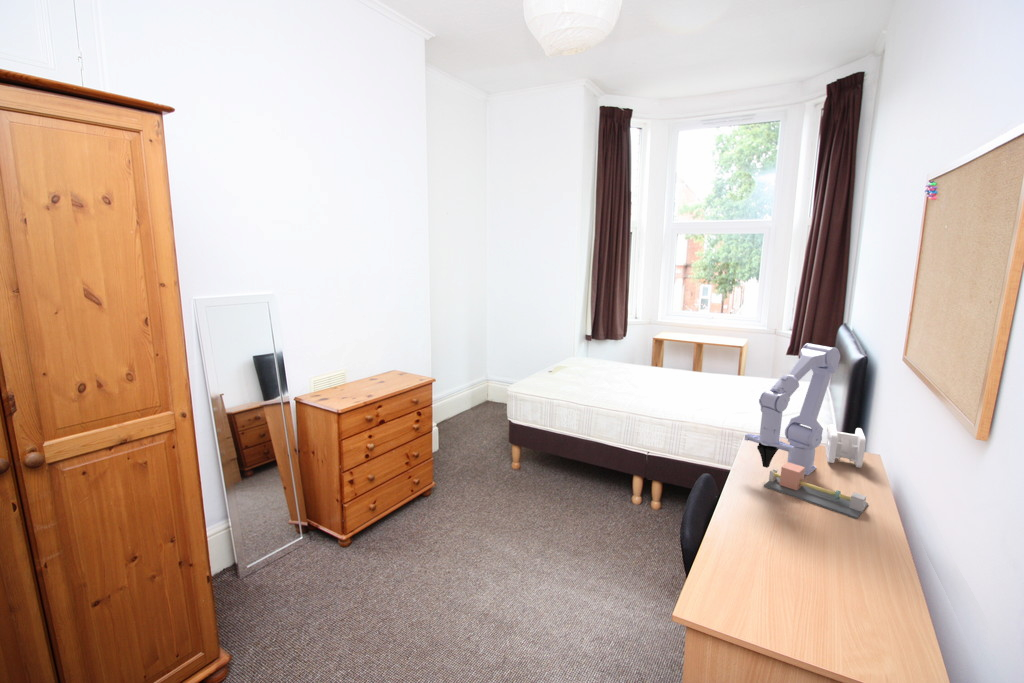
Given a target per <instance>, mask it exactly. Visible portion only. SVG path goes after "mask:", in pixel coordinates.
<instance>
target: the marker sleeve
mask: <svg viewBox="0 0 1024 683" xmlns="http://www.w3.org/2000/svg"><path fill="white" fill-rule="evenodd" d="M780 470H781V471H780V474H781V477H780V485H782V486H785V487H788V488H791V489H793V490H796V491H797V490H798V489H799V488H800V487H801V486H802V485H800V481H803V482H804V480H805V475H804V473H805V467H803V466H799V465H796V464H793V463H789V462H788V463H787V462H786V463H785V464H784V465H782V466H781V469H780Z"/></svg>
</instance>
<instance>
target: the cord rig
mask: <svg viewBox="0 0 1024 683" xmlns="http://www.w3.org/2000/svg"><path fill="white" fill-rule="evenodd" d="M768 476H769V477H768V481H767V482H766V483H764V484H763V488H767V489H770V490H772V489H773V490H772V491H776V492H779V493H782V494H784V495H788V496H789V497H793V498H796V499H797V500H798V499H799V500H800V501H801V500H802V501H803V502H806V503H810V504H812V505H815V506H819V507H822V508H824V509H827V510H831V511H833V512H836V513H838V514H841V515H844V516H848V517H850V518H852V519H855V520H858V519H859V517H860V516H861V515H862V514H863V512H864V511H865V510H866V508H867V507H868V506H869V503H868V501H867V496H866V495H865V494H861V493H858V492H856V491H854V492H853V493H852V494H851V495H850V496H848V495H845V494H842V493H841V490H836V491H834V490H830V489H827V488H824V487H821V486H817V485H815V484H813V483H808V482H805V481H804V480H803V481H800V485H802V486H801V487H800V488H799V489H798V490H797V491H796V490H793V489H791V488H788V487H785V486H782V485H780V477H781V473H778V469H776V468H772V470H770V471H769V475H768ZM866 501H867V502H866Z"/></svg>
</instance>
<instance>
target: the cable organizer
mask: <svg viewBox="0 0 1024 683" xmlns="http://www.w3.org/2000/svg"><path fill="white" fill-rule="evenodd" d="M826 432H827V435H826V441H825V447H824V448H825V455H826V460H827V462H828V463H831V464H834V463H835V461H836V459H837V460H839V461H840V460H841V458H843V459H848V460H849V462H854V465H855V468H862V467H863V464H864V457H865V450H866V443H867V440H866V436H865V433H864V431H863V429H862V428H861V427H856V428H855V431H854V433H848V432H842V431H837V426H836V425H835V424H828V425H827V428H826Z"/></svg>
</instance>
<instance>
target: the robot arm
mask: <svg viewBox="0 0 1024 683" xmlns="http://www.w3.org/2000/svg"><path fill="white" fill-rule="evenodd" d="M840 360H841V353H840V351H839V349H838V348H837V347H835V346H833V347H832V346H831V347H830V346H827V345H820V344H814V343H811V342H807V343H805V344H804V345H803V346H802V348H801V349H800V352H799V359H798V360H797V362H796V363H795V364H794V366H793V367H792V369H791V370H790V372H789V373H788V374H784V375H782V376H781V377H780V378H779V379H778V381H776V382H775V383H774V385H773V386H772V387H771V388H770V389H769V390H766V391H763V392H762V393H761V395H760V398H759V399H758V402H759V406H760V412H761V419H760V426H759V427H760V429H759V435H758V434H752V433H745V434H744V441H747V442H748V441H749V442H754V443H757V446H756V447H757V450H758V453H759V454H760V458H761V462H762V467H764V468H767V469H768V468H769V467H770V465H771V462H772V460H773V457H775V454H777V452H778V450H781V451H784V452H788V455H787V462H786V463H788V462H789V463H793V464H796V465H799V466H803V467H805V473H804V476H810V475H811V473H813V472H814V471H815V470H816V469H817V466H816V465H815V457H816V456H815V455H816V448H817V447H819V446H820V445H821V444H822V443H821V442H822V441H823V432H824V431H823V430H824V428H823V427H822V425H821V424H820V423H819V422H818V421H817V420H818V417H819V413H820V410H821V408H822V404H823V402H824V399H825V395H826V393H827V389H828V387H829V384H830V380H831V377H832V374H835V373H836V371H837V369H838V367H839V363H840ZM810 371H812V376H811V379H810V382H809V385H808V388H807V392H806V394H805V397H804V400H803V403H802V407H801V409H800V413H799V415H797V416H795V417H791V418H790V421H789V422H788V424H787V425H786V427H785V429H784V435H785V438H786V440H787V443H786V442H784V441H781V440H780V438H781V437H780V435H781V427H782V419H783V412H784V411H785V410H786V409H787V408H788V405H789V402H790V400H791V397H792V395H793V394H794V393H795V392H796V391H797V390H798V389H799V387H800V383H799V381H801V379H803V378H804V377H805V376H806V374H808V373H809V372H810ZM788 443H789V444H788Z"/></svg>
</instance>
